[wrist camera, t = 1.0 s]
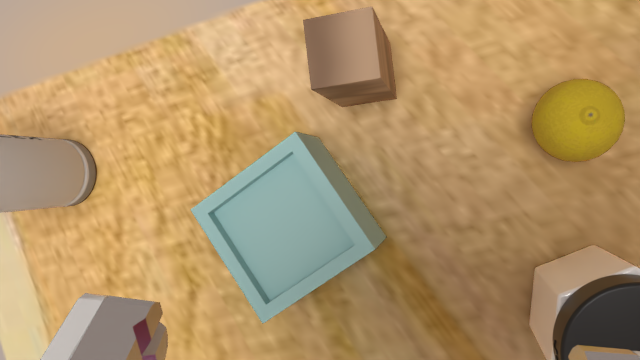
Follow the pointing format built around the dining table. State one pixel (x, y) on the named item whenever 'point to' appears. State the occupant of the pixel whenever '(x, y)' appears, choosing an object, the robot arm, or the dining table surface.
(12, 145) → the travel mug
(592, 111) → the lemon
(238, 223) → the teal box
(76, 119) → the dining table surface
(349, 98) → the walnut block
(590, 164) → the dining table surface
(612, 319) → the jar
